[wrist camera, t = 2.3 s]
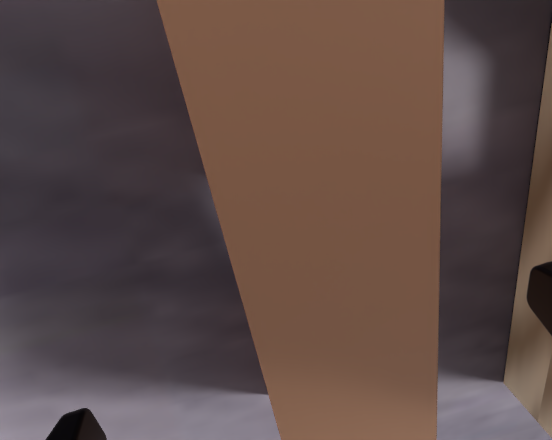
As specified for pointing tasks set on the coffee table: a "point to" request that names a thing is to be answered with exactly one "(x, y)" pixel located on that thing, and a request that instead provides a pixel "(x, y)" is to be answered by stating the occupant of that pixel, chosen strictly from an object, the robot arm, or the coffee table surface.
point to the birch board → (535, 250)
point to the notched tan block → (326, 198)
